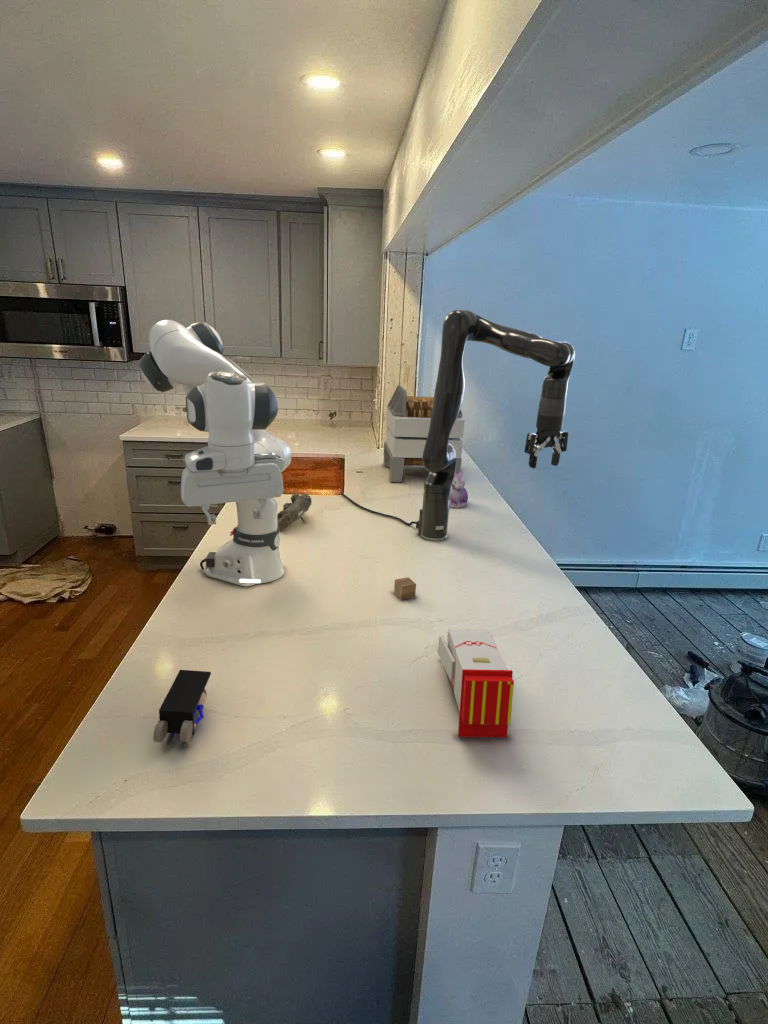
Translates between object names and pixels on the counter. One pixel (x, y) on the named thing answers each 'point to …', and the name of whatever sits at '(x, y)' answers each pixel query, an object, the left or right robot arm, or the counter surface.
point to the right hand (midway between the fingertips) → (543, 466)
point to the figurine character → (182, 706)
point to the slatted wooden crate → (413, 432)
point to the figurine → (458, 491)
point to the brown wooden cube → (405, 588)
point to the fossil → (293, 510)
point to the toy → (478, 682)
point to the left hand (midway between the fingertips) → (235, 521)
